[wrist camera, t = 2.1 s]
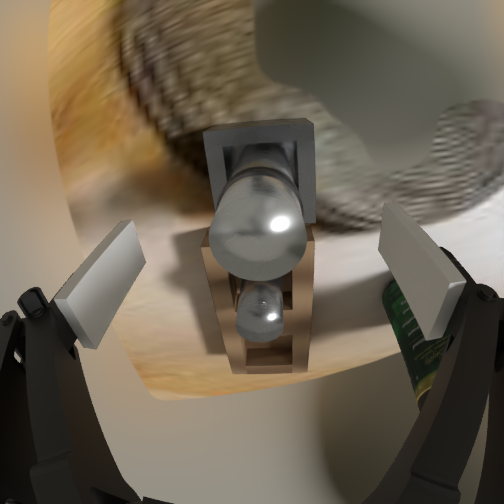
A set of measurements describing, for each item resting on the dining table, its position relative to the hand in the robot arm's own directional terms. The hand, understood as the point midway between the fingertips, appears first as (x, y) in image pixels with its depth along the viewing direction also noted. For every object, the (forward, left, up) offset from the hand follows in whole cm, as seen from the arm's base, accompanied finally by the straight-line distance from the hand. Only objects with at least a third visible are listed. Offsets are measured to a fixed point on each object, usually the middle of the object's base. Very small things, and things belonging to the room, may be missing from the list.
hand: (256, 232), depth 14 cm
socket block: (0, 0, -13) cm, 13 cm away
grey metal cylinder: (0, 0, -12) cm, 12 cm away
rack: (+16, -1, -13) cm, 20 cm away
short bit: (+11, -1, -12) cm, 16 cm away
